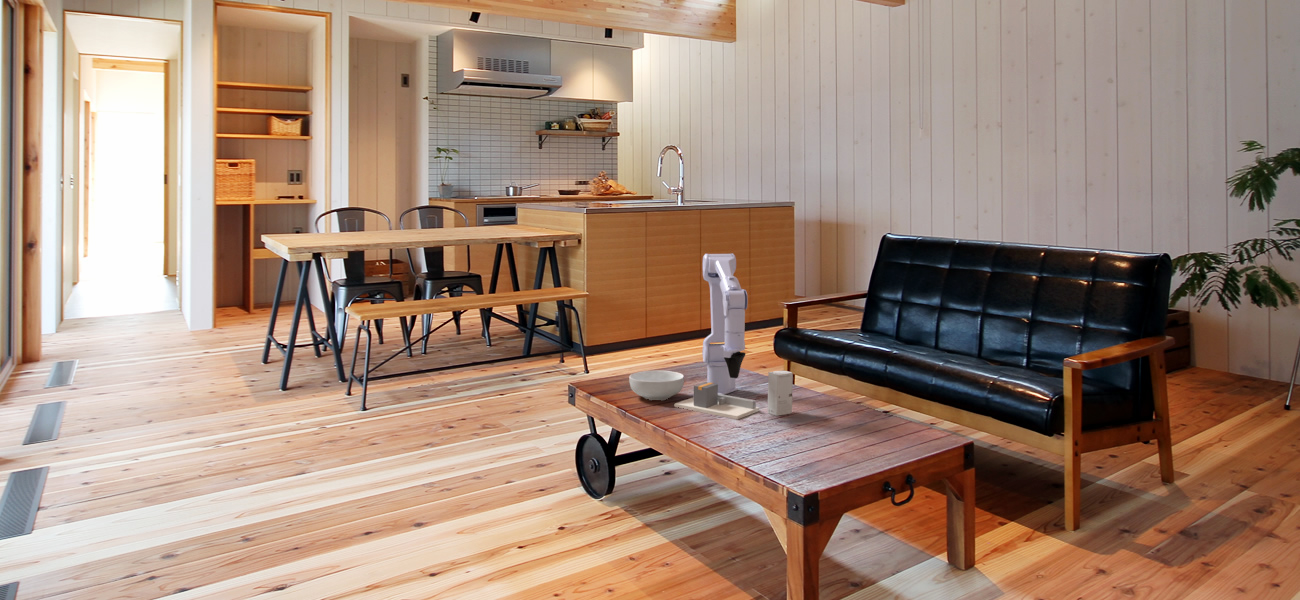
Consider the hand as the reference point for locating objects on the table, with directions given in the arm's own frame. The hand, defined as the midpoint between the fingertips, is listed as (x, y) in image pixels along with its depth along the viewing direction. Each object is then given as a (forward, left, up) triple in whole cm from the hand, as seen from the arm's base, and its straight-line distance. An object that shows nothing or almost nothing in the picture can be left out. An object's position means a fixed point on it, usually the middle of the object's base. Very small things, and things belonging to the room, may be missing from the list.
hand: (734, 377), depth 248 cm
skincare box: (-6, +12, -10) cm, 17 cm away
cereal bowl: (+2, -27, -10) cm, 29 cm away
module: (+3, -8, -9) cm, 12 cm away
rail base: (+2, -5, -10) cm, 11 cm away
